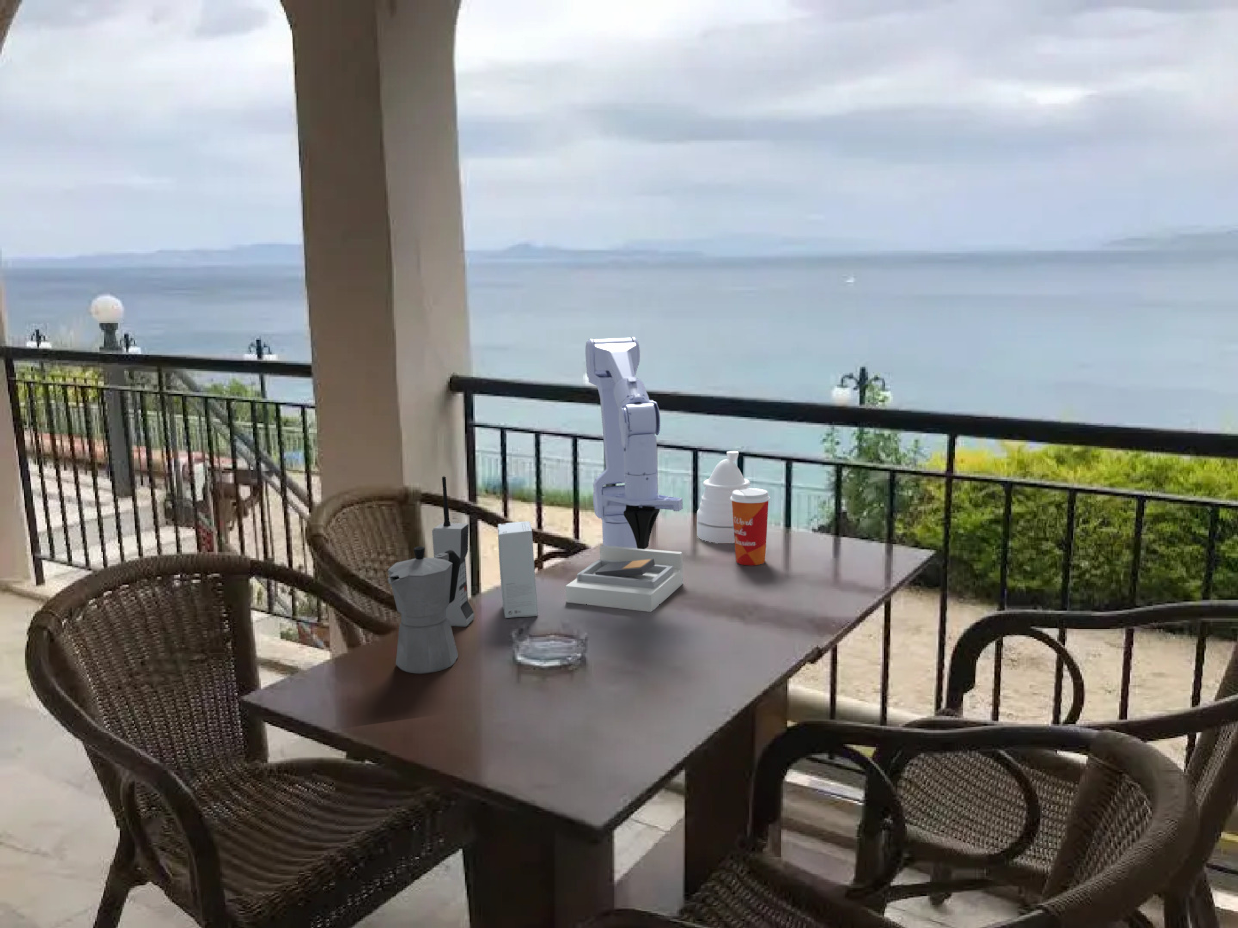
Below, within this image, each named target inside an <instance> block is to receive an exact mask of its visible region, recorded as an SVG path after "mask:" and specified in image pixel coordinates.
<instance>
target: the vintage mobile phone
mask: <svg viewBox="0 0 1238 928" xmlns="http://www.w3.org/2000/svg"><path fill="white" fill-rule="evenodd" d="M441 483H442V497H443V505H442V506H443V507H442V508H443V509H442V510H443V522H441V523H440V524H438V525H437V526H435V527H434V528H432V530H431V531H432V532H431V533H432V534H431V535H432V536H431V537H432V547H433V558H435V555H437V554H440V553H445V552H446V551H448V550H453V551H454V552H455V553H456V554H457V555H458V556H459V558H460V568H459V574H458V581H457V588H456V594H455V599H454V601H453V602H451V603H450V604H449V605H448V607H447V608H446V616H447V618H448V619H449V621H450V625H451V627H465V628H467V627H468V626H469V624H470V623H471V622H472V621H473V620H474V619H475V612H474V610H473V608H472V606H471V605H470V602H469V595H468V593H469V592H468V580H467V579H468V577H467V566H466V557H467V555H468V551H469V528H470V527H469V523H467V522H466V523H465V522H463V523H462V522H457V523H456V522H450V513H449V512H450V510H449V509H450V508H449V504H448V492H447V491H448V490H447V476H445V475H443V476H442V477H441Z"/></svg>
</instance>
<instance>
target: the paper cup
mask: <svg viewBox="0 0 1238 928" xmlns="http://www.w3.org/2000/svg"><path fill="white" fill-rule="evenodd" d="M730 499H731V500H732V510H733V525H734V540H735V544H734V551H735V560H736V561H735V562H736V563H737V564H738V563H739V564H738V565H742V566H747V565H748V566H761V565H763V564H764V563H765V562H766V553H767V550H766V549H767V538H768V537H767V533H768V520H769V519H768V517H769V502H770V500H771V496H769V491H768V490H766V489H764V488H763V489H762V488H756V487H748V488H746V489H739V490H734V491H733V492H732V496H731V497H730ZM760 564H761V565H760Z"/></svg>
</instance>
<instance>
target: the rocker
mask: <svg viewBox="0 0 1238 928" xmlns="http://www.w3.org/2000/svg"><path fill="white" fill-rule="evenodd" d="M654 565H655V562H654V559H644V560H633V561H622V562H611V563H608V564H606V565H605V566H603V567H602V568H601V569H599V570H598V571H596V572H595V574H596V575H604V576H614V577H623V576H634V575H643V574H644V573H646V572H647V571H648V570H649V569H651V568H652V567H653V566H654Z"/></svg>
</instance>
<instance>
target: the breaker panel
mask: <svg viewBox="0 0 1238 928" xmlns="http://www.w3.org/2000/svg"><path fill="white" fill-rule="evenodd" d="M644 559H654V562H655V565H654V566H653V567H652V568H651V569H649V570H648V571H647V572H646V573H644V574H643V575H634V576H623V577H614V576H604V575H596V574H595V572H596V571H598V570H599V569H601V568H602V567H603V566H605V565H606V564H608V563H611V562H622V561H633V560H644ZM683 561H684V559H683V551H674V550H663V549H651V548H646V549H637V548H630V547H618V546H607V545H603V544H602V545H600V546H599V559H597V560H596V561H595V562H594V561H593V563H591V564H590V565H588V566H587V567H586V568H584V569H583V570H581V571H580V572H578V573H577V574H576V578H575V579H574V580H572V581H571V582H569V583H568V584H566V585H565V599H566V600H565V602H566V603H568V604H569V603H570V604H580V605H586V604H587V606H596V607H605V608H615V609H624V610H630V611H631V610H632V611H638V612H639V611H640V612H649V613H652V612H653V611H654V610H655V609H656V608H658V607H659V606H660V605H661V604H662V603H664V601H666V600H667V598H669V597H670V596H671V595H672V594H673V593H674V592H675V591H677V590H678V589H679V588H680V587H681V586H683V584H684V569H683V568H684V567H683V566H684V565H683V564H684V563H683ZM659 604H660V605H659Z"/></svg>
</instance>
